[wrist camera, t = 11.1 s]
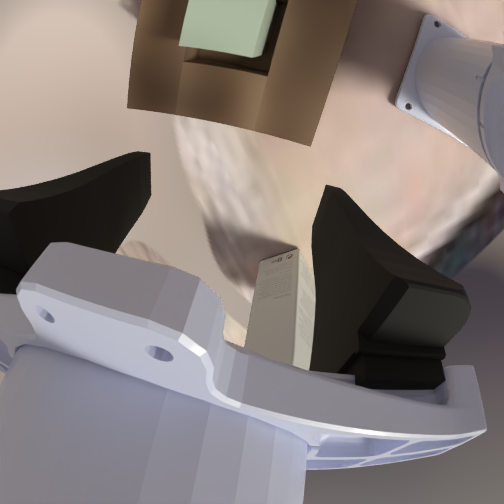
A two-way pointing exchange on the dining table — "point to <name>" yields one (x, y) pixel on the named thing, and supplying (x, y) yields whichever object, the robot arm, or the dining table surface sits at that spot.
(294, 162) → the dining table surface
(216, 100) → the walnut socket block
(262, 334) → the skincare box
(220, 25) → the sage peg
